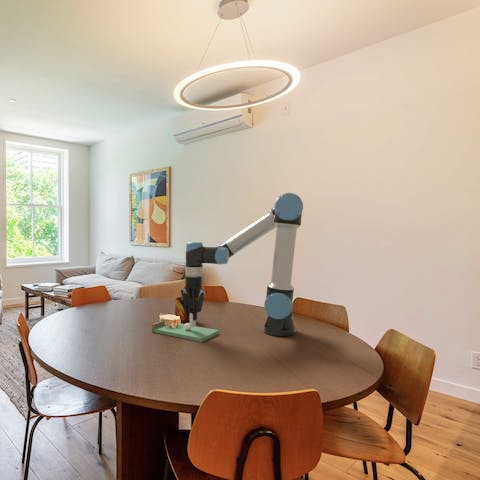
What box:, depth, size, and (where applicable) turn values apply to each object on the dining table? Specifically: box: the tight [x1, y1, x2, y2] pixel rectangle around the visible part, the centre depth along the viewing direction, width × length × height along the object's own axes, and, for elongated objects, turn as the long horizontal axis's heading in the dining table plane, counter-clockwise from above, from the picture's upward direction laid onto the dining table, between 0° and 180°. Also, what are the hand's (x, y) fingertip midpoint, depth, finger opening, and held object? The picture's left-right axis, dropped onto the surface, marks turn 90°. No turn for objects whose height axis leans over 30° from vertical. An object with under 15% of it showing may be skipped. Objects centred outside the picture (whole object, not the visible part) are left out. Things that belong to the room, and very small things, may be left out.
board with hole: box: [151, 320, 220, 343], centre depth 159 cm, size 28×14×4 cm, turn 62°
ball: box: [184, 323, 190, 330], centre depth 158 cm, size 3×3×3 cm
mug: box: [174, 296, 190, 324], centre depth 178 cm, size 10×14×12 cm
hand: (192, 326), depth 157 cm, fingers closed
